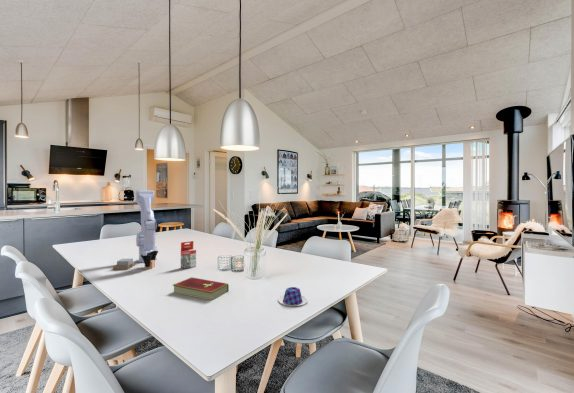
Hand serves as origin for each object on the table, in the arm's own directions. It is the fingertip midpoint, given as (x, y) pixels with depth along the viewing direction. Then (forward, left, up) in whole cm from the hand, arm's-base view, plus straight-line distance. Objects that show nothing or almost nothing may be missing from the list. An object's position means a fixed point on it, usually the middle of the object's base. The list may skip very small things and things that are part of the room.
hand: (149, 265), depth 161 cm
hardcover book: (+18, +51, -2) cm, 54 cm away
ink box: (-10, +19, -2) cm, 22 cm away
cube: (0, 0, -2) cm, 2 cm away
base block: (+6, -13, -2) cm, 15 cm away
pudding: (+11, +92, -2) cm, 93 cm away
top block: (+6, -13, 0) cm, 14 cm away
